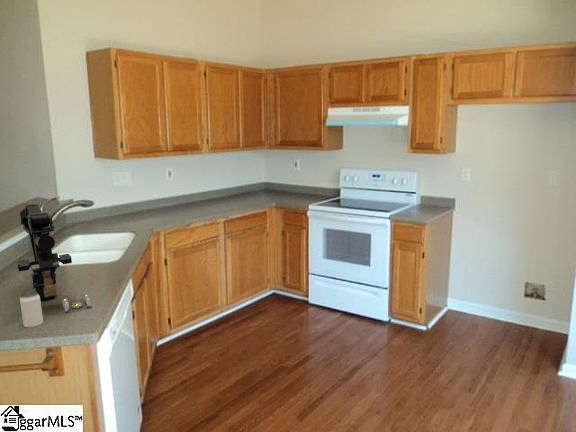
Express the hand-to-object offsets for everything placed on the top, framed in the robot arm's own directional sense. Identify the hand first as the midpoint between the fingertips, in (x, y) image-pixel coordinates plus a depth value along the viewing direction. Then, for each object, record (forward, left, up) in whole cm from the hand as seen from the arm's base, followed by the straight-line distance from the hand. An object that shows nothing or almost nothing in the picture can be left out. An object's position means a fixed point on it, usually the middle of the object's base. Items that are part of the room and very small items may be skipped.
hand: (47, 282), depth 184 cm
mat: (+9, -4, -11) cm, 15 cm away
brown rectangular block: (0, -3, -3) cm, 4 cm away
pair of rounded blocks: (+9, -7, -11) cm, 15 cm away
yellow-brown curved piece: (+9, -6, -11) cm, 15 cm away
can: (-7, -13, -11) cm, 18 cm away
